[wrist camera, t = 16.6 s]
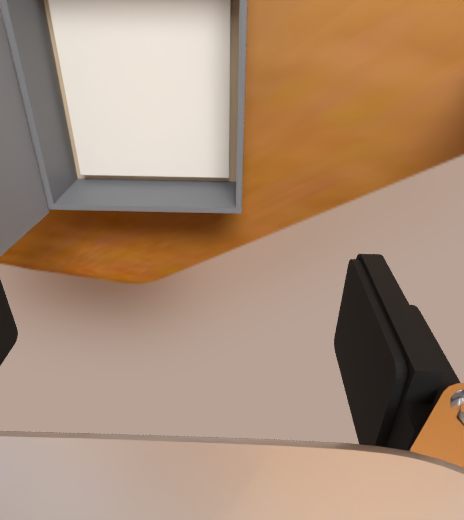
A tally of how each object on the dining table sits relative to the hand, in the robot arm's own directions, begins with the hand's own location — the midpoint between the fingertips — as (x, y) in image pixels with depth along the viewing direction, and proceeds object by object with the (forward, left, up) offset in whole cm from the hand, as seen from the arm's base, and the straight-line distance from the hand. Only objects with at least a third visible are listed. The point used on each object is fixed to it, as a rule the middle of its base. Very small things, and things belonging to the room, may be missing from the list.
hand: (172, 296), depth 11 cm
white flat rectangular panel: (+8, 0, -38) cm, 39 cm away
